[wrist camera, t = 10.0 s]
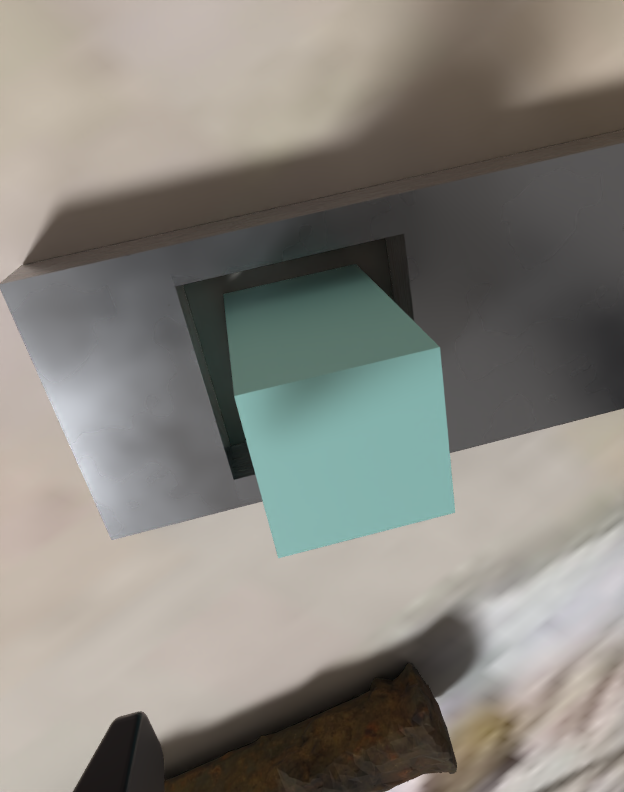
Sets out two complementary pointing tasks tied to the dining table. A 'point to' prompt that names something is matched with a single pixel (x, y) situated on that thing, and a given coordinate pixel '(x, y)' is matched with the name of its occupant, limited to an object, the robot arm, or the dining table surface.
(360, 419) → the teal block
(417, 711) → the hand tool
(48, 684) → the dining table surface
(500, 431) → the grey block with hole
